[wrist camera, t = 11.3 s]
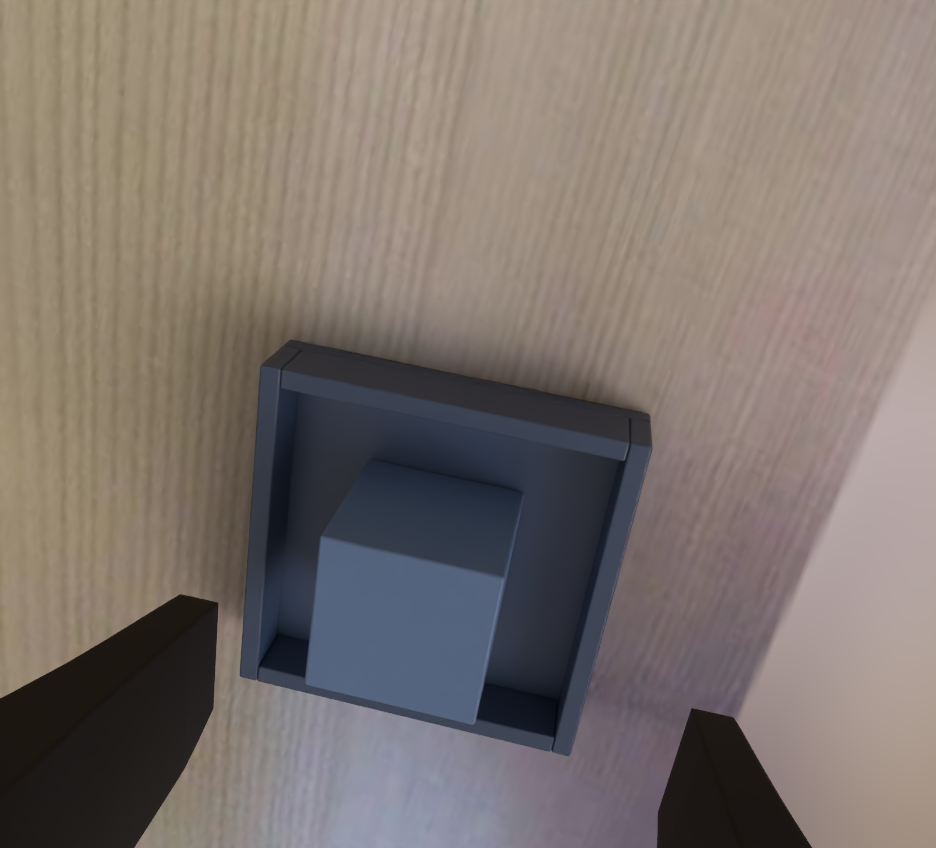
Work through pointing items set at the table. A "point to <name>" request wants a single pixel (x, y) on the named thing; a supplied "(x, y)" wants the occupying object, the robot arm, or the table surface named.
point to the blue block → (412, 590)
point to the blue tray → (460, 456)
